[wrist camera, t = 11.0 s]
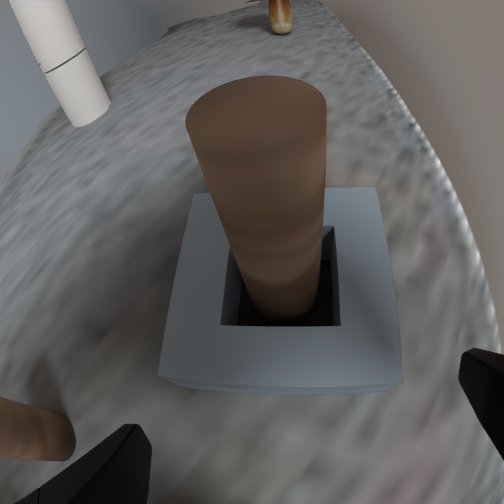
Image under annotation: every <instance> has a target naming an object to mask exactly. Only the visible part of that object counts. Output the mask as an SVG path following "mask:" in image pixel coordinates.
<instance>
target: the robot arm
mask: <svg viewBox="0 0 504 504" xmlns="http://www.w3.org/2000/svg"><path fill="white" fill-rule="evenodd" d="M458 377H459V382H460V385H461V387H462V388H463V390H464V392H465V394H466V396H467V398H468V400H469V402H470V404H471V406H472V408H473V410H474V412H475V414H476V416H477V418H478V420H479V421H480V423H481V425H482V426H483V428H484V429H485V431H486V433H487V434H488V436H489V437H490V439H491V441H492V442H493V444H494V445H495V447H496V449H497V450H498V452H499V454H500V455H501V457H502V459H503V460H504V355H503V354H499V353H495V352H490V351H486V350H482V349H478V348H472V349H470V350H468V351H465V352H464V353H463V354H462V356H461V362H460V369H459V375H458ZM151 456H152V447H151V444H150V442H149V440H148V438H147V437H146V435H145V433H144V432H143V430H142V428H141V427H140V426H139V425H138V424H124V425H123V426H121V427H120V428H119V429H117V430H116V431H115V432H114V433H112V434H111V435H110V436H108V437H107V438H106V439H105V440H103V441H102V442H101V443H99V444H98V445H97V446H95V447H94V448H93V449H91V450H90V451H89V452H88V453H86V454H85V455H84V456H82V457H81V458H79V459H78V460H77V461H75V462H74V463H73V464H71V465H70V466H69V467H67V468H66V469H65V470H63V471H62V472H60V473H59V474H58V475H56V476H55V477H53V478H52V479H51V480H49V481H48V482H46V483H45V484H43V485H42V486H41V487H40V488H38V489H36V490H35V491H33V492H32V493H30V494H29V495H27V496H26V497H24V498H23V499H21V500H20V501H18V502H16V503H14V504H147V499H148V492H149V480H150V467H151Z"/></svg>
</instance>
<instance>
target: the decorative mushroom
mask: <svg viewBox="0 0 504 504" xmlns="http://www.w3.org/2000/svg"><path fill="white" fill-rule="evenodd" d="M269 17H270V24H271V28H272V30H273V31H274V32H275V33H277V34H284V35H285V34H287V33H289V32H291V31H292V29H293V18H292V11H291V6H290V2H289V0H269Z"/></svg>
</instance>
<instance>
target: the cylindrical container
mask: <svg viewBox="0 0 504 504" xmlns="http://www.w3.org/2000/svg"><path fill="white" fill-rule="evenodd" d="M9 2H10V4H11V7H12V9H13V11H14V13H15V15H16V18H17V20H18V22H19V25H20V26H21V29H22V31H23V33H24V35H25V37H26V40H27V41H28V44H29V46H30V48H31V50H32V52H33V54H34V56H35V58H36V60H37V62H38V63H40V64H39V66H40V68H41V69H42V71H43V73H44V75H45V77H46V79H47V81H48V83H49V84H50V86H51V88H52V90H53V92H54V93H55V95H56V97H57V99H58V101H59V102H60V104H61V106H62V108H63V110H64V111H65V113H66V115H67V117H68V118H69V120H70V122H71V123H72V125H73V126H74V127H82V126H85V125H87V124H89V123H91V122H93V121H94V120H96V119H97V118H99V117H100V116H101V115H103V114H104V113H105V112H106V111H107V110H108V109H109V107H110V105H111V101H110V99H109V97H108V95H107V93H106V91H105V89H104V87H103V85H102V83H101V80H100V78H99V76H98V74H97V72H96V70H95V67H94V65H93V63H92V61H91V59H90V57H89V55H88V52H87V50H86V48H85V45H84V43H83V41H82V38H81V36H80V34H79V32H78V29H77V27H76V25H75V22H74V20H73V18H72V15H71V13H70V10H69V8H68V5H67V3H66V0H9Z"/></svg>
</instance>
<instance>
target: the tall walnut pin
mask: <svg viewBox="0 0 504 504" xmlns="http://www.w3.org/2000/svg"><path fill="white" fill-rule="evenodd" d="M186 128H187V131H188V133H189V136H190V139H191V142H192V145H193V147H194V150H195V153H196V156H197V158H198V161H199V164H200V166H201V169H202V172H203V175H204V177H205V180H206V183H207V185H208V188H209V191H210V194H211V196H212V199H213V202H214V204H215V207H216V210H217V212H218V215H219V218H220V220H221V223H222V226H223V228H224V231H225V234H226V236H227V239H228V241H229V244H230V247H231V249H232V252H233V255H234V257H235V260H236V262H237V265H238V268H239V270H240V273H241V275H242V278H243V281H244V283H245V286H246V288H247V291H248V293H249V296H250V299H251V301H252V304H253V306H254V309H255V311H256V314H257V316H258V318H259V319H260V321H261V322H262V323H263V324H264V325H265V326H267V327H303V326H304V325H306V324H307V323H308V322H309V321H310V320H311V318H312V317H313V315H314V313H315V310H316V305H317V295H318V284H319V273H320V261H321V248H322V233H323V217H324V198H325V172H326V101H325V98H324V96H323V95H322V93H321V92H320V91H319V90H318V89H316V88H315V87H314V86H312V85H310V84H308V83H306V82H304V81H301V80H298V79H294V78H290V77H283V76H255V77H248V78H242V79H238V80H235V81H231V82H228V83H226V84H223V85H220V86H218V87H216V88H214V89H212V90H211V91H209V92H207V93H206V94H204V95H203V96H202V97H200V98H199V99H198V100H197V101H196V102H195V103H194V104H193V105H192V106H191V108H190V109H189V111H188V113H187V116H186Z"/></svg>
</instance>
